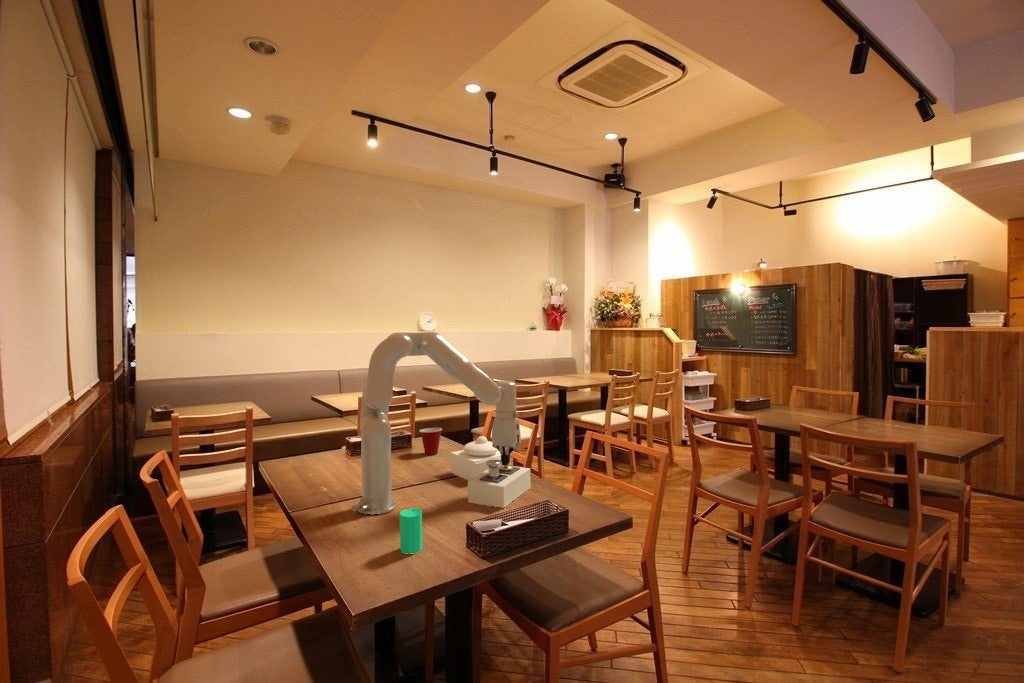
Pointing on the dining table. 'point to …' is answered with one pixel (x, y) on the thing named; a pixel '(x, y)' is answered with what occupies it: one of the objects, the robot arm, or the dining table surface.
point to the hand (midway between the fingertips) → (505, 464)
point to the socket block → (499, 487)
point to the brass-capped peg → (507, 468)
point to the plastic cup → (431, 440)
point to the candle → (411, 530)
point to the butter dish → (473, 458)
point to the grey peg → (493, 468)
